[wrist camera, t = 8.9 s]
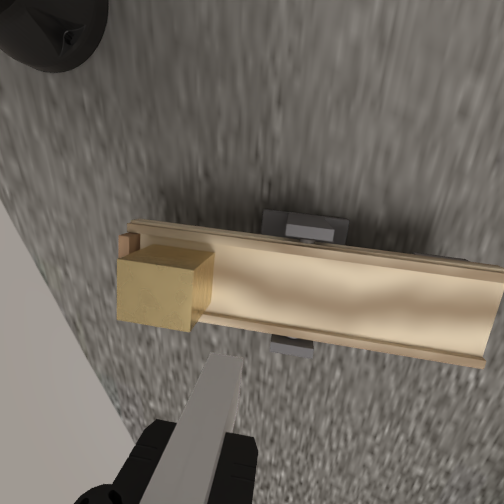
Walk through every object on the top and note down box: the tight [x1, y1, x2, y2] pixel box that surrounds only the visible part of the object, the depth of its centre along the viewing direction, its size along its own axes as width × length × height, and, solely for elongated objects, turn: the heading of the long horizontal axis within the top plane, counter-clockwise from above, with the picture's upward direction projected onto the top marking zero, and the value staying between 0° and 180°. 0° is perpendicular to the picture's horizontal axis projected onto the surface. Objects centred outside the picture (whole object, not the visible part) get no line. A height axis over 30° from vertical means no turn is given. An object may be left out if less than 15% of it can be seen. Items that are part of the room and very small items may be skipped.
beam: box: [119, 219, 504, 369], centre depth 29 cm, size 10×33×8 cm, turn 84°
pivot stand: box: [261, 209, 350, 359], centre depth 32 cm, size 12×10×12 cm
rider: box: [117, 244, 215, 332], centre depth 26 cm, size 5×6×6 cm
